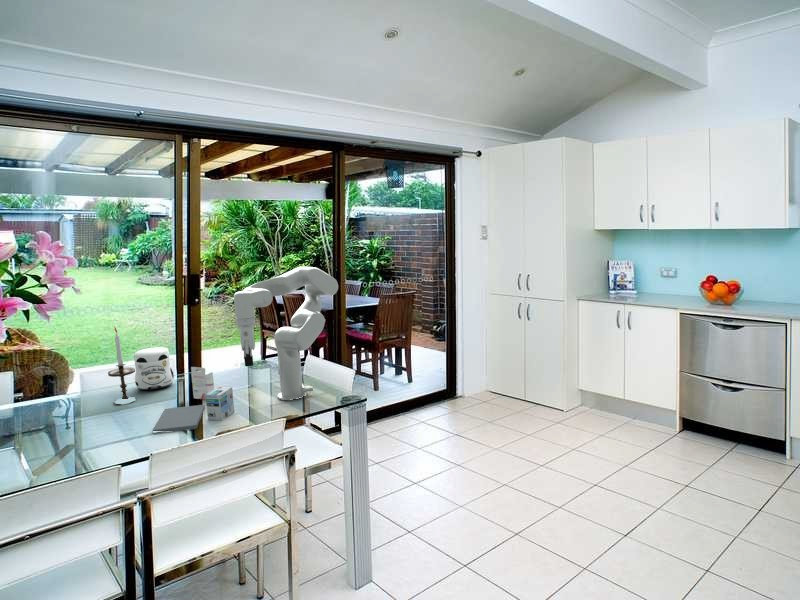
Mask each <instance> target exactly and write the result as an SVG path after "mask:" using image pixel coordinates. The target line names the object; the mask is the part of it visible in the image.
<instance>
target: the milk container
mask: <svg viewBox="0 0 800 600" xmlns="http://www.w3.org/2000/svg"><path fill="white" fill-rule="evenodd" d="M133 356H134V357H133V360H134V365H135V375H134V383H135V386H136V388H137V389H139V390H143V391H152V390H153V391H154V389H155V390H160V389H164V388H166V387H169V386H170V385H172V384H173V383H174V377H175V376H174V371H173V369H172V365H171V357H170V352H169V348H167V347H150V348H142V349H140V350H137V351H135V352H134V354H133Z"/></svg>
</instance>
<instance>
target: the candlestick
mask: <svg viewBox="0 0 800 600" xmlns="http://www.w3.org/2000/svg"><path fill="white" fill-rule="evenodd" d="M113 328H114V331H115V336H114V343H115V349H116V355H117V356H116V357H117V365H115V367H118V368H115V369H112V370H110V371H108V372H107V374H108V377H113V378H114V377H118V378H119V377H120V385H119V387H120V389H121V390H120V392H121V393H122V397H121V398H122V399H128V398H129V396H128V395H127V392H128V390H127V387H128V384H126V383H125V377H126V376H129V375H131V374H134V373H136V367H135V368H134V367H128V366H127V367H125V366H126V364H125V363H124V361H123V354H122V345H121V338H120V335H119V334H118V330H117V328H116V326H115V325H114V327H113Z"/></svg>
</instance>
